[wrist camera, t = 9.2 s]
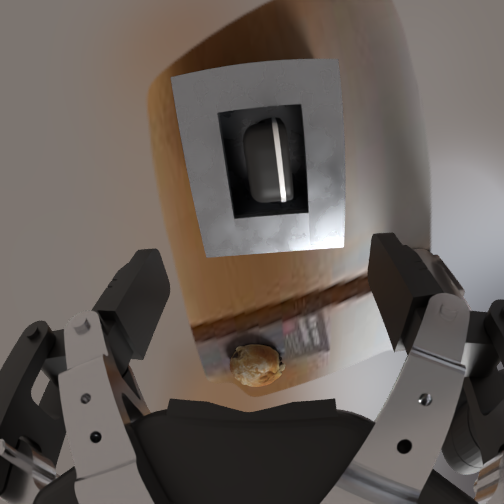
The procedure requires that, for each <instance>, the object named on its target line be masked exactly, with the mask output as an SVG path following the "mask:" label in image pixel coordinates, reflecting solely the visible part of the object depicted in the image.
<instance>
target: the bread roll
mask: <svg viewBox="0 0 504 504" xmlns="http://www.w3.org/2000/svg"><path fill="white" fill-rule="evenodd" d="M235 350H237V351H235V353H234V354H233V356H232V357H231V361H230V370H231V372H232V374H233V375H234V377H235V378H236V379H237V380H239V381H240V382H241V383H242V384H244V385H249V386H257V387H259V386H264V385H268V384H270V383H272V382H273V381H275V380H276V379H277V378H279V377H280V376H281V374H282V372H281V371H283V370H284V369H285V364H283V363H282V362H281V360H282V358H281V357H280V355H279V354H278V352H277V351H275V350H273V349H272V348H271V347H269V346H264V345H259V344H249V345H246V346H239V347H237V348H236V349H235Z"/></svg>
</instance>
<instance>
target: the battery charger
mask: <svg viewBox="0 0 504 504" xmlns="http://www.w3.org/2000/svg"><path fill="white" fill-rule="evenodd" d="M243 148H244V154H245V160H246V167H247V173H248V180H249V186H250V192H251V195H252V197H253V199H255V200H256V201H258V202H261V203H267V202H277V201H281V202H286V201H288V200H292V199H293V197H294V192H293V181H292V170H291V160H290V151H289V142H288V135H287V130H286V127H285V124H284V123H283V122H282V120H281V118H275V117H272V118H269V119H264V120H261V121H259V122H258V123H257V124H252V125H251V126H249V127H248V128H247V129H246V131H245V133H244V136H243Z"/></svg>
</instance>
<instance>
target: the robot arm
mask: <svg viewBox="0 0 504 504" xmlns="http://www.w3.org/2000/svg"><path fill="white" fill-rule="evenodd" d="M368 282H369V286H370V288H371V291H372V293H373V296H374V298H375V301H376V303H377V306H378V308H379V311H380V314H381V316H382V319H383V322H384V324H385V327H386V330H387V332H388V335H389V338H390V341H391V344H392V347H393V350H394V352H398V351H404V350H406V352H407V355H408V356H407V358H406V360H405V363H404V365H403V367H402V369H401V372H400V374H399V376H398V378H397V380H396V382H395V384H394V386H393V388H392V390H391V392H390V394H389V396H388V398H387V400H386V402H385V404H384V405H383V408H382V409H381V411H380V413H379V414H378V416H377V418H376V420H375V421H374V422H373V421H371V420H370V419H368V418H366V417H364V416H362V415H359V414H356V413H353V412H349V411H344V410H337V409H336V402H335V399H327V400H315V401H301V402H292V403H288V404H284V405H280V406H276V407H272V408H268V409H264V410H259V411H255V412H243V411H239V410H235V409H231V408H227V407H224V406H220V405H217V404H213V403H210V402H204V401H190V400H179V399H170V401H169V405H168V409H165V410H161V411H156V412H153V413H151V412H150V410H149V409H148V407H147V405H146V403H145V401H144V398H143V396H142V394H141V391H140V389H139V387H138V384H137V382H136V379H135V376H134V374H133V372H132V369H131V367H130V366H129V362H130V359H138V360H143V359H144V356H145V354H146V351H147V349H148V346H149V344H150V341H151V339H152V336H153V333H154V331H155V329H156V326H157V324H158V321H159V319H160V316H161V314H162V312H163V309H164V307H165V305H166V302H167V300H168V298H169V295H170V283H169V279H168V276H167V274H166V270H165V268H164V265H163V261H162V258H161V255H160V253H159V251H158V250H157V249H144V250H138V251H137V252H136V253H135V255H134V256H133V257H132V259H131V260H130V262H129V263H127V264H126V265H125V266H124V267H122V268H121V269H120V270H119V271H118V272H117V273H116V275H115V276H114V278H113V280H112V281H111V282H110V283H109V285H108V288H106V289H105V291H104V292H103V294H102V295H101V297H100V298H99V300H98V301H97V303H96V304H95V306H94V307H93V309H92V310H91V311H83V312H80V313H78V314H76V315H75V316H73V317H72V318H71V319H70V320H69V321H68V323H67V324H66V326H65V329H62V330H57V331H52V330H51V329H50V327H49V326H48V325H47V323H46V322H45V321H37V322H34V323H32V324H31V325H29V326H28V327H27V328H26V329H25V330H24V332H23V333H22V335H21V337H20V338H19V340H18V341H17V343H16V344H15V346H14V348H13V349H12V351H11V353H10V355H9V356H8V358H7V360H6V361H5V363H4V365H3V367H2V369H1V370H0V499H2V500H4V501H6V502H8V503H9V504H504V369H502V370H499V371H498V370H497V365H498V364H499V362H500V361H501V362H502V364H503V367H504V300H496V301H494V302H493V303H492V305H491V306H490V308H489V311H488V312H477V311H472V309H471V308H470V306H469V305H468V303H467V302H466V300H465V299H464V297H463V296H464V292H465V291H464V289H463V287H462V286H461V285H460V283H459V282H458V280H456V278H455V276H454V275H453V274H452V273H451V271H450V270H449V269H448V267H447V266H446V265H445V264H444V262H443V261H442V260H441V258H440V257H439V256H438V255H433V254H431V253H430V252H429V251H427V250H425V249H411V248H410V247H408V246H407V245H402V244H401V243H400V241H399V240H398V238H397V237H396V236H395V234H394V233H378V234H373V236H372V240H371V248H370V257H369V265H368ZM40 370H42V371H43V372H44V374H45V375H46V376H47V377H48V378H49V379H50V381H49V383H48V385H47V387H46V390H45V392H44V394H43V397H42V399H41V401H40V404H39V406H38V405H37V404H36V403H35V402H34V401H33V399H32V397H31V388H32V386H33V384H34V382H35V379H36V377H37V376H38V374H39V372H40ZM66 432H67V437H68V441H69V446H70V450H71V454H72V458H73V461H74V465H75V466H74V467H72V468H71V469H70V470H68V471H67V472H65V473H64V474H62V475H61V476H60V475H58V474H57V473H56V472H55V468H56V464H57V460H58V457H59V453H60V450H61V447H62V444H63V441H64V438H65V435H66ZM440 450H442V452H443V455H444V457H445V459H446V461H447V463H448V464H449V466H450V467H451V468H452V469H453V470H455V471H456V472H458V473H460V474H466V475H467V474H473V473H476V472H479V471H480V472H479V476H478V479H477V480H476V481H475V483H474V491H475V493H476V495H475V498H474V499H473V498H471V497H470V496H468V495H467V494H466V493H464V492H463V491H462V490H460V489H459V488H458V487H456V486H455V485H453V484H452V483H451V482H449V481H448V480H447V479H445V478H444V477H443V476H442V475H440V474H439V473H438V472H436V471H435V470H434V469H432V468H433V466H434V464H435V462H436V460H437V457H438V455H439V453H440Z"/></svg>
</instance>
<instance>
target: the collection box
mask: <svg viewBox="0 0 504 504" xmlns="http://www.w3.org/2000/svg"><path fill="white" fill-rule="evenodd" d="M171 82H172V89H173V95H174V101H175V107H176V113H177V119H178V124H179V130H180V135H181V141H182V146H183V151H184V157H185V162H186V167H187V172H188V177H189V182H190V186H191V191H192V196H193V201H194V205H195V210H196V214H197V219H198V223H199V228H200V232H201V236H202V241H203V245H204V249H205V253H206V257H220V256H233V255H246V254H259V253H272V252H285V251H298V250H311V249H324V248H337V247H344V230H345V140H344V119H343V104H342V92H341V81H340V71H339V62H338V59H292V60H276V61H264V62H254V63H245V64H238V65H231V66H224V67H218V68H212V69H207V70H202V71H197V72H192V73H187V74H183V75H179V76H175V77H171ZM272 117H275V118H281V120H282V122H283V123H284V124H285V127H286V130H287V135H288V142H289V151H290V160H291V170H292V181H293V192H294V197H293V199H292V200H288V201H286V202H281V201H277V202H267V203H261V202H258V201H256V200H255V199H253V197H252V195H251V192H250V186H249V180H248V173H247V167H246V160H245V154H244V148H243V136H244V133H245V131H246V129H247V128H248V127H249V126H251V125H252V124H257V123H258V122H259V121H261V120H264V119H269V118H272Z"/></svg>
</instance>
